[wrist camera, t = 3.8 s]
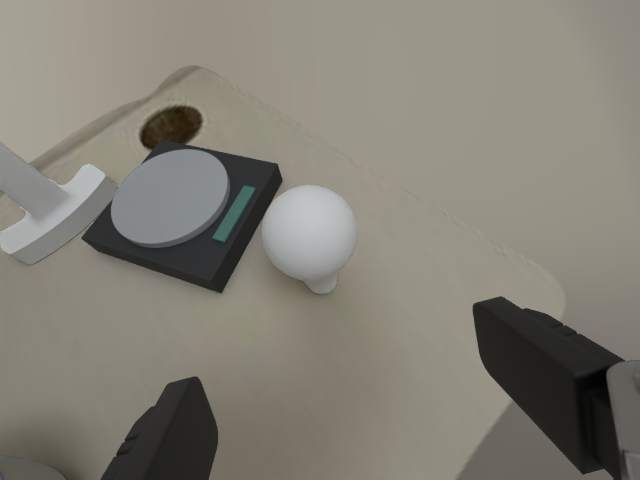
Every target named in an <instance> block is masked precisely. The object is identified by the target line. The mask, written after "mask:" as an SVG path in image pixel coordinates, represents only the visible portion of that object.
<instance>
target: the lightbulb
mask: <svg viewBox="0 0 640 480" xmlns="http://www.w3.org/2000/svg"><path fill="white" fill-rule="evenodd" d="M261 237H262V243H263V248H264V250H265V252H266V254H267V256H268V258H269V260H270V261H271V263H272V264H273V265H274V266H275V267H276V268H277V269H279V270H280V271H281V272H283V273H284V274H285V275H287V276H289V277H291V278H294V279H298V280H303V281H304V282H305V283H306V284H307V286H308V287H309V289H310V290H311V291H312V292H314V293H316V294H326V293H329V292H331V291H332V290H333V289H334V288H335V286H336V284H337V275H338V273H339V270H340V269H341V268H343V267H344V266H345V264H346V263H347V262H348V261H349V259H350V257H351V256H352V254H353V251H354V249H355V246H356V242H357V224H356V220H355V217H354V215H353V212H352V210H351V208H350V207H349V205H348V204H347V203H346V201H345V200H344V199H343V198H342V197H341V196H339V195H338V194H337V193H335V192H333V191H332V190H330V189H327V188H324V187H322V186H316V185H303V186H298V187H294V188H292V189H289V190H287V191H285V192H284V193H282V194H281V195H279V196H278V197H277V198H276V199H275V200H274V201H273V202H272V204H271V205H270V206H269V208H268V209H267V211H266V213H265V215H264V219H263V223H262V228H261Z"/></svg>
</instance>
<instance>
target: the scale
mask: <svg viewBox="0 0 640 480" xmlns="http://www.w3.org/2000/svg"><path fill="white" fill-rule="evenodd" d="M281 182H282V177H281V173H280V170H279V167H278V164H275V163H271V162H266V161H261V160H256V159H252V158H247V157H242V156H237V155H232V154H228V153H223V152H218V151H213V150H209V149H204V148H199V147H194V146H190V145H185V144H180V143H175V142H170V141H166V140H160V142H159V143H158V144H157V145H156V146H155V148H154V149H153V150H152V151H151V153H150V154H149V155H148V156H147V158H146V159H145V160H144V161H143V162H142V164H141V165H140V166H138V167H137V168H136V169H135V170H133V171H132V172H131V173H130V174H129V175H128V176H127V177H126V178H125V179H124V180H123V182H122V183H121V185H120V186H119V188H118V189H117V191H116V193H115V195H114V198H113V199H112V201H111V202H110V203H109V204H108V206H107V207H106V208H105V209H104V211H103V212H102V213H101V214H100V215H99V217H98V218H97V219H96V220H95V222H94V223H93V224H92V225H91V227H90V228H89V229H88V230H87V231H86V233H85V234H84V235H83V236H82V238H81V239H83V240H84V241H85V242H87V243H88V244H89V245H91V246H92V247H93V248H94V249H96V250H97V251H99V252H102V253H105V254H108V255H111V256H114V257H117V258H120V259H122V260H125V261H128V262H131V263H134V264H137V265H140V266H143V267H146V268H149V269H152V270H155V271H158V272H160V273H163V274H166V275H169V276H172V277H175V278H178V279H181V280H184V281H187V282H190V283H193V284H196V285H199V286H201V287H204V288H207V289H210V290H213V291H216V292H219V293H222V291H223V289H224V287H225V285H226V284H227V282H228V280H229V278H230V276H231V274H232V273H233V271H234V269H235V267H236V265H237V263H238V261H239V260H240V258H241V256H242V254H243V252H244V250H245V249H246V247H247V245H248V243H249V241H250V239H251V238H252V236H253V234H254V232H255V230H256V228H257V226H258V225H259V223H260V221H261V219H262V217H263V215H264V214H265V212H266V210H267V208H268V206H269V204H270V203H271V201H272V199H273V197H274V195H275V193H276V192H277V190H278V188H279V186H280V184H281Z"/></svg>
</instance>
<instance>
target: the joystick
mask: <svg viewBox="0 0 640 480" xmlns="http://www.w3.org/2000/svg"><path fill="white" fill-rule="evenodd" d="M117 189H118V187H117V186H116V185H115V184H114V183H113V182H112V181H111V180H110V179H109V178H108V177H107V175H106V174H105V173H103V172H102V171H100V170H99V169H97V168H96V167H94V166H93V165H91V164H86V165H84V166H82V167H81V169H80V170H79V171H78V173H77V174H76V175H75V176H74V177H73V179H72V180H71V181H70V182H69V183H67V184H65V185H59V184H57V183H56V182H55V181H54V180H51V179H48V178H47V177H45V176H44V175H43V174H41V173H40V172H39V171H37V170H36V169H35V168H34V167H32V166H31V165H30V164H28V163H27V162H26V161H24V160H23V159H22V158H21V157H19V156H18V155H17V154H15V153H14V152H13V151H11V150H10V149H9V148H8V147H6V146H5V145H4V144H2V143H1V142H0V190H1V191H2V192H3V193H5V194H6V195H7V196H8V197H10V198H11V199H12V200H13V201H15V202H16V203H17V204H18V205H19V207H20V208H21V209H23V210H24V211H25V212H26V214H25V216H24V218H23V219H22V220H21V221H19V222H18V223H16V224H14V225H12V226H10V227H8V228H6V229H4V230H2V231H0V247H1V248H2V249H3V250H4V251H5V252H6V253H7V254H9V255H11V256H12V257H14V258H16V259H18V260H20V261H21V262H23V263H25V264H27V265H32V264H34V263H36V262H38V261H39V260H41V259H43V258H45V257H46V256H48V255H49V254H51V253H53V252H54V251H56V250H57V249H59V248H60V247H61V246H63V245H64V244H66V243H67V242H68V241H70V240H71V239H72V238H74V237H75V236H76V235H77V234H78V233H80V232H81V231H82V230H83V229H84V228H85V227H87V226H88V225H89V224H90V223H91V222H92V221H93V220H94V219H95V218H96V217H97V216H98V215H99V214H100V213H101V212H102V211H103V210H104V208H105V207H106V206H107V205H108V204H109V203H110V201H111V200H112V199H113V197H114V195H115V193H116V191H117Z"/></svg>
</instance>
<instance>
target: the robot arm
mask: <svg viewBox="0 0 640 480" xmlns="http://www.w3.org/2000/svg"><path fill="white" fill-rule="evenodd" d="M473 317H474V323H475V329H476V336H477V342H478V348H479V354H480V357H481V360H482V362H483V365H484V367H485V368H486V370H487V372H488V373H489V374H490V376H491V377H492V378H493V379H494V380H495V381H496V382H497V383H498V384H499V385H500V386H501V387H502V388H503V389H504V391H505V392H506V393H507V394H508V395H509V396H510V397H511V398H512V399H513V400H514V401H515V402H516V403H517V404H518V405H519V407H520V408H521V409H522V410H523V411H524V412H525V413H526V414H527V415H528V416H529V417H530V418H531V419H532V421H533V422H534V423H535V424H536V425H537V426H538V427H539V428H540V429H541V430H542V431H543V432H544V433H545V434H546V436H548V438H549V439H550V440H551V441H552V442H553V443H554V444H555V445H556V446H557V447H558V449H559V450H560V451H561V452H562V453H563V454H564V455H565V456H566V457H567V458H568V459H569V460H570V461H571V462H572V464H574V466H575V467H576V468H577V469H578V470H579V471H580V472H581V473H582V474H586V473H590V472H594V471H597V470H600V469H605V470H606V471H607V472H608V473H609V474H610V475H611V476H612V477H613V480H640V360H631V361H625V360H623V359H622V358H620V357H618V356H617V355H615V354H613V353H611V352H610V351H608V350H607V349H605V348H603V347H601V346H600V345H598V344H596V343H595V342H593V341H591V340H590V339H588V338H586V337H585V336H583V335H581V334H577V333H576V331H574V330H573V329H571V328H569V327H568V326H563V323H561V322H559V321H558V320H556V319H554V318H553V317H551V316H549V315H548V314H545V313H541V312H538V311H534V310H531V309H528V308H525V309H521V308H520V307H518V306H516V305H515V304H513V303H512V302H510V301H509V300H507V299H505V298H504V297H496V298H492V299H488V300H485V301H481V302H477V303H474V305H473ZM217 445H218V430H217V425H216V421H215V418H214V416H213V413H212V410H211V407H210V405H209V402H208V399H207V397H206V394H205V391H204V388H203V386H202V383H201V381H200V379H199V378H198V377H196V376H194V377H191V378H187V379H183V380H179V381H176V382H172V383H169V384H167V386H166V387H165V389H164V391H163V392H162V394H161V396H160V398H159V399H158V401H157V403H156V405H155V406H153V407H150V408H149V409H148V410H147V411H146V412H145V413H144V414H143V415H142V416H141V417H140V418H139V419H138V420H137V421H136V422H135V424H134V425H133V427H132V428H131V430H130V432H129V433H128V435H127V437H126V438H125V442H124V443H122V445H121V447H120V448H119V450H118V451H117V453H116V454H117V456H116V457H114V458H113V460H112V461H111V463H110V465H109V466H108V468H107V470H106V471H105V473H104V474H103V476H102V478H101V479H100V480H208V479H209V476H210V472H211V468H212V465H213V461H214V457H215V453H216V450H217Z"/></svg>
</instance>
